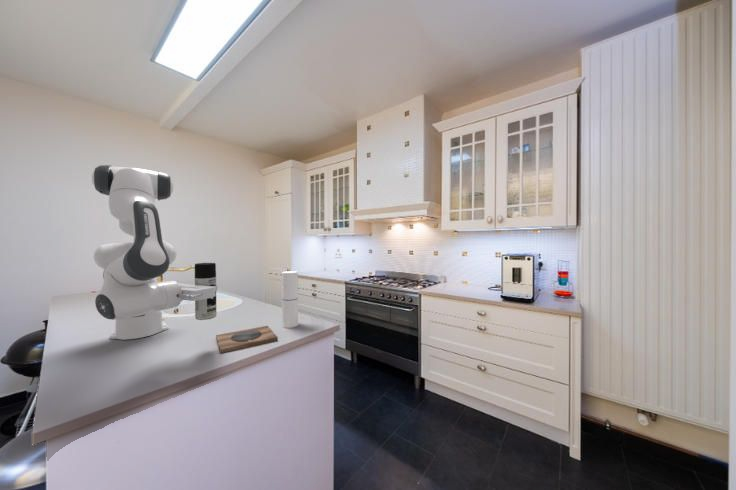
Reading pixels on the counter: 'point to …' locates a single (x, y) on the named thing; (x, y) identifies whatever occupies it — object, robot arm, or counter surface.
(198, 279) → the spray can
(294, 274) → the cylindrical container
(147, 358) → the counter surface
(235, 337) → the board
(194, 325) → the counter surface
